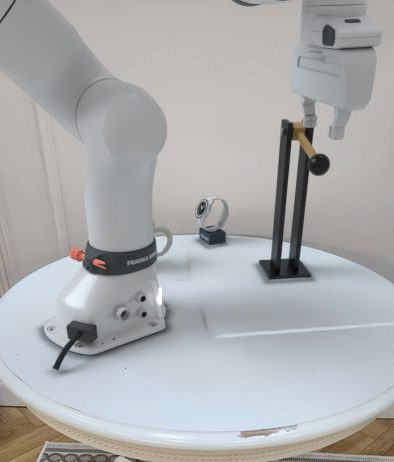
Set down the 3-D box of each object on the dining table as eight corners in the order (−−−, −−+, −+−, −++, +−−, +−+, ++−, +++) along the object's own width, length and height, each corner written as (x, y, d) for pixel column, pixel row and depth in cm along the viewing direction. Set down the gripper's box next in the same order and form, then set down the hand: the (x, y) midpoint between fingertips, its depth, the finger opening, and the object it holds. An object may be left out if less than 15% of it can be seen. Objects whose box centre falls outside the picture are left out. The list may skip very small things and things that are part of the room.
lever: (330, 179, 90) (335, 158, 87) (310, 180, 89) (313, 159, 87) (302, 137, 102) (305, 118, 99) (284, 138, 101) (287, 118, 99)
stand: (310, 279, 111) (329, 124, 95) (268, 282, 110) (280, 125, 94) (297, 262, 119) (313, 116, 103) (258, 265, 118) (268, 117, 102)
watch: (192, 241, 130) (191, 196, 124) (221, 236, 133) (222, 192, 127) (202, 249, 126) (202, 202, 120) (232, 243, 129) (233, 198, 123)
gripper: (283, 27, 83) (278, 122, 91) (344, 33, 67) (332, 148, 74) (320, 25, 84) (312, 119, 92) (390, 31, 68) (373, 144, 75)
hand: (321, 132), depth 83 cm, fingers open, 8 cm apart
